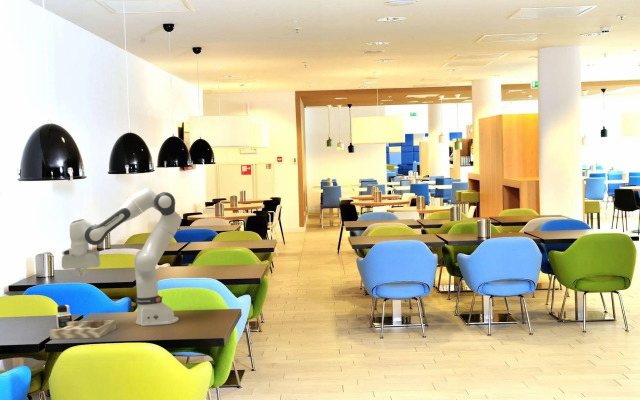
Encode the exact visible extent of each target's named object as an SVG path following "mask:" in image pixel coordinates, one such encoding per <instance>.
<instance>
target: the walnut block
mask: <svg viewBox="0 0 640 400" xmlns="http://www.w3.org/2000/svg"><path fill="white" fill-rule="evenodd" d="M90 321H91V322H90V328H98V327H100V326H102V325H104V321H105V320H104V319H94V320H90Z"/></svg>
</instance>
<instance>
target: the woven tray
mask: <svg viewBox="0 0 640 400" xmlns="http://www.w3.org/2000/svg"><path fill="white" fill-rule="evenodd" d="M91 321H92V320H75V321H73V320H72V321H71V322H67V326H66V327H64V328H62V329H58V328H57V329H52V328H51V329H49V331H48V332H49V339H50V340H59V339H60V340H65V339H68V340H70V338H71V339H97V338H98V339H99V338H101V337H104V336H105V335H107V334H109V333H111V332H113V331H114V330H116V329H117V326H116V325H117V324H116V320H115V319H113V320H111V319H109V320H108V319H107V320H104V325H102V326H100V327H98V328H90V322H91Z"/></svg>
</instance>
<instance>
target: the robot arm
mask: <svg viewBox="0 0 640 400" xmlns="http://www.w3.org/2000/svg"><path fill="white" fill-rule="evenodd" d="M151 208H154V209H155V210H157V211H158V212H159V213H160V214H161V216H160V219H159V221H158V222H157V223H156V225H155V227H154V228H153V230H152V231H151V233H150V234H149V235H148V237H147V240H146V241H145V243H144V245H143V246H142V248H141V249H140V250H138V251H137V252H136V253H135V254H134V258H133V263H134V273H135V283H136V285H135V286H136V307H137V313H136V314H137V315H136V321H135V324H136V325H140V327H141V326H142V327H145V326H147V327H148V326H161V325H171V324H174V323H176V322H178V321H179V319H180V318H179V317H178V316H175V313H174V310H173V308H171V306H168V305H167V304H166V303H164V302H163V296H160V295H159V289H158V287H159V285H158V277H157V270H156V267H157V265H158V263H159V262H160V259H162V256H163V254H164V253H165V251H166V249H167V247H168V245H169V244H171V243H170V242H171V241H172V240H173V238H174V237H175V235H176V233H177V231H179V228H180V225H181V223H182V217H181V216H180V214H179V213H178V212H176V199H175V197H174V195H172V194H171V193H170V192H169V191H168V192H167V191H166V192H164V191H163V192H160V193H158V194H156V193H155V192H154V191H153V190H152V189H151V188H148V187H145V188H142V189H140V190H138V191H135V192H134V193H133V194H131V195H130V196H129V197H127V198H126V199H125V200H124V201H123V202H122V203H121V204H120V205H119V207H118V208H117V210H116V211H115V212H114V213H113V214H112V215H111V216H109V217H108V218H106V219H105V220H104V221H102V222H100V223H99V224H96V223H92V222H91V221H90V222H89V221H87V220H85V219H83V218H82V219H81V218H80V219H76V220H74V221H72V222H71V223H70V224H69V238H70V242H71V243H70V248H68V249H64V250H63V251H62V252H61V253H62V257H61V268H62V269H64V270H68V269H71V270H72V269H75V271H76V272H77V274H78V277H81V278H82V277H86V273H87V270H88V269H89V268H99V267H100V266H101V259H100V251H99V250H97V249H89V245H92V246H97V245H100V244H102V243H103V242H104V240H105V239H106V238H107V235H109V233H111V232H112V231H113V230H114V229H116V228H117V227H118V226H120V225H122V224H123V223H126V222H127V221H130V220H133V219H135V218H137V217H138V216H140V215H142V214H143V213H145V212H146V211H148V210H149V209H151ZM81 269H82V271H83V272H81Z"/></svg>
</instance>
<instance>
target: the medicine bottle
mask: <svg viewBox="0 0 640 400" xmlns="http://www.w3.org/2000/svg"><path fill="white" fill-rule="evenodd" d="M56 309H57V313H56V315H55V320H56V328H57V329H62V328H64V327H66V326H67V322H71V321H73V316H72V314H71V312H70V305H68V304H61V305H57V308H56Z"/></svg>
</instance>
